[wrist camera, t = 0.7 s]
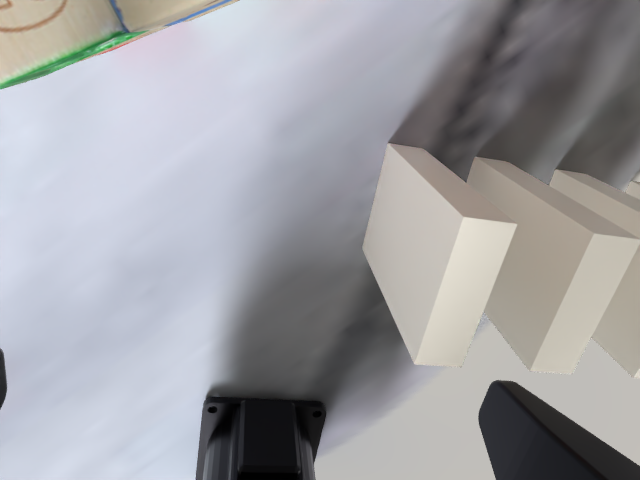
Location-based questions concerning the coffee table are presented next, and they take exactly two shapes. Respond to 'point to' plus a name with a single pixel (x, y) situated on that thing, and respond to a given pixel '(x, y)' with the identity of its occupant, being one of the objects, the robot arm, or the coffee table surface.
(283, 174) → the coffee table surface
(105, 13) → the stack of blocks
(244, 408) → the robot arm
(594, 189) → the domino
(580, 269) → the domino
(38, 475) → the coffee table surface
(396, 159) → the domino
